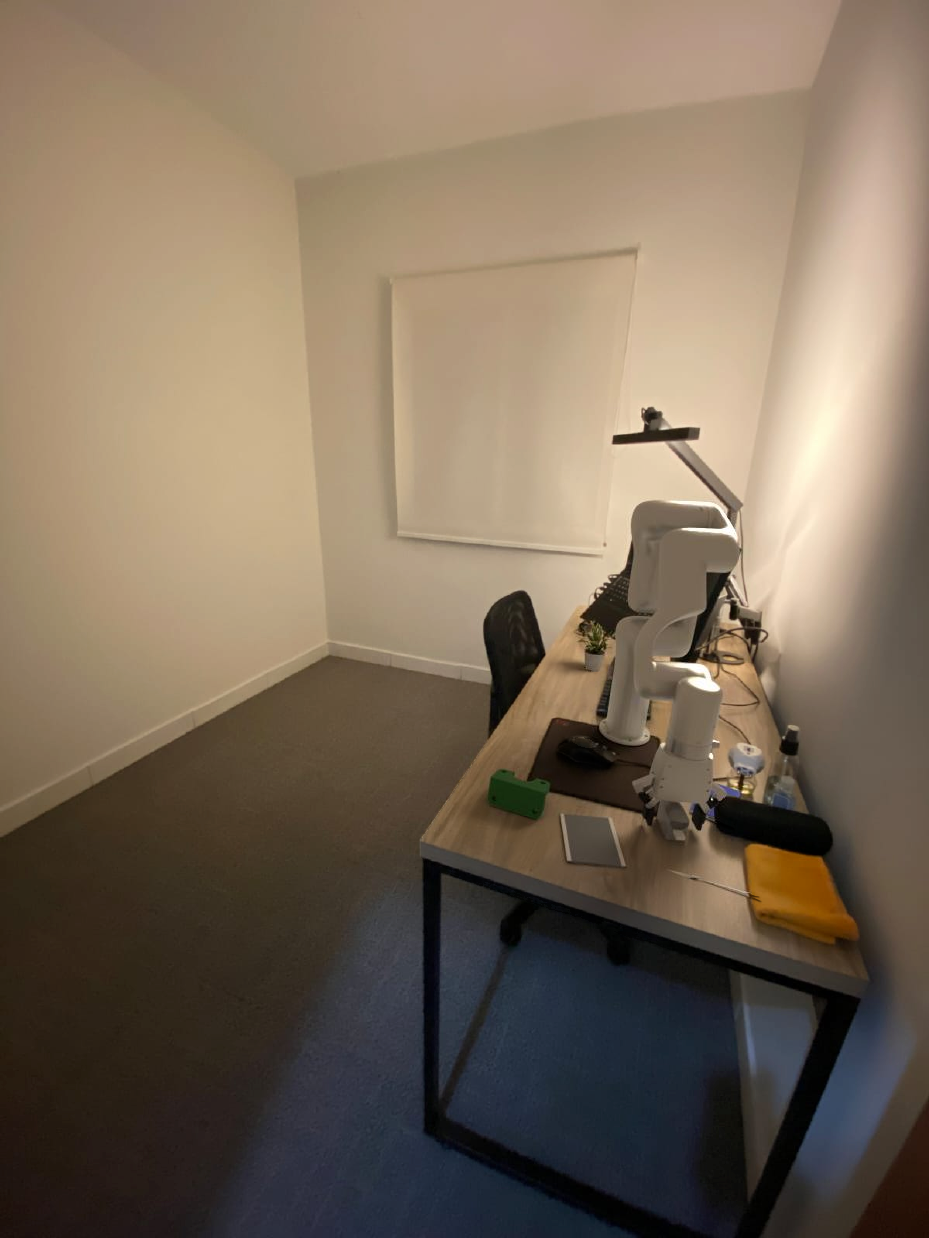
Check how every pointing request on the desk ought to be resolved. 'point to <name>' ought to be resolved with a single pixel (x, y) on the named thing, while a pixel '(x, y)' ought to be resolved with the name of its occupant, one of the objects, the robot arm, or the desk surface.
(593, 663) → the house plant
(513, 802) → the clamp
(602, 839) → the mat
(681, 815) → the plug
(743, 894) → the stylus
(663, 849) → the desk surface
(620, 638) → the robot arm
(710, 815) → the hard drive
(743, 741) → the desk surface
